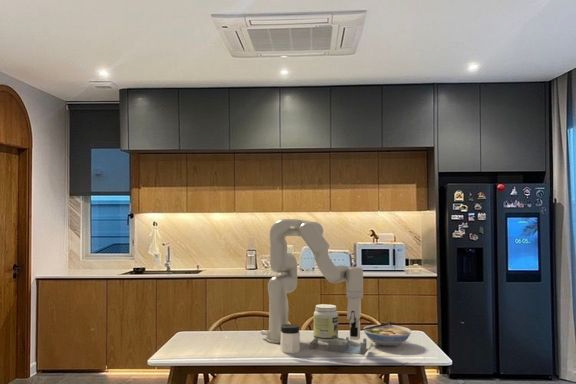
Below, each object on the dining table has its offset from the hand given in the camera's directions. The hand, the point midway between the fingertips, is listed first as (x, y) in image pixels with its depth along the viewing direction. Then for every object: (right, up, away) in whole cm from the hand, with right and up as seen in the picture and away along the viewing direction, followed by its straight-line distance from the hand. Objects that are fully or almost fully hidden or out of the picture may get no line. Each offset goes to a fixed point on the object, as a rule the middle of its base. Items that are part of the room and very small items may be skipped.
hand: (354, 334), depth 226 cm
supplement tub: (-12, -9, +22) cm, 26 cm away
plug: (0, -2, 0) cm, 2 cm away
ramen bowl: (+17, -9, +14) cm, 24 cm away
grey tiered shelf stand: (-7, -8, +2) cm, 11 cm away
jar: (-29, -8, -2) cm, 31 cm away
